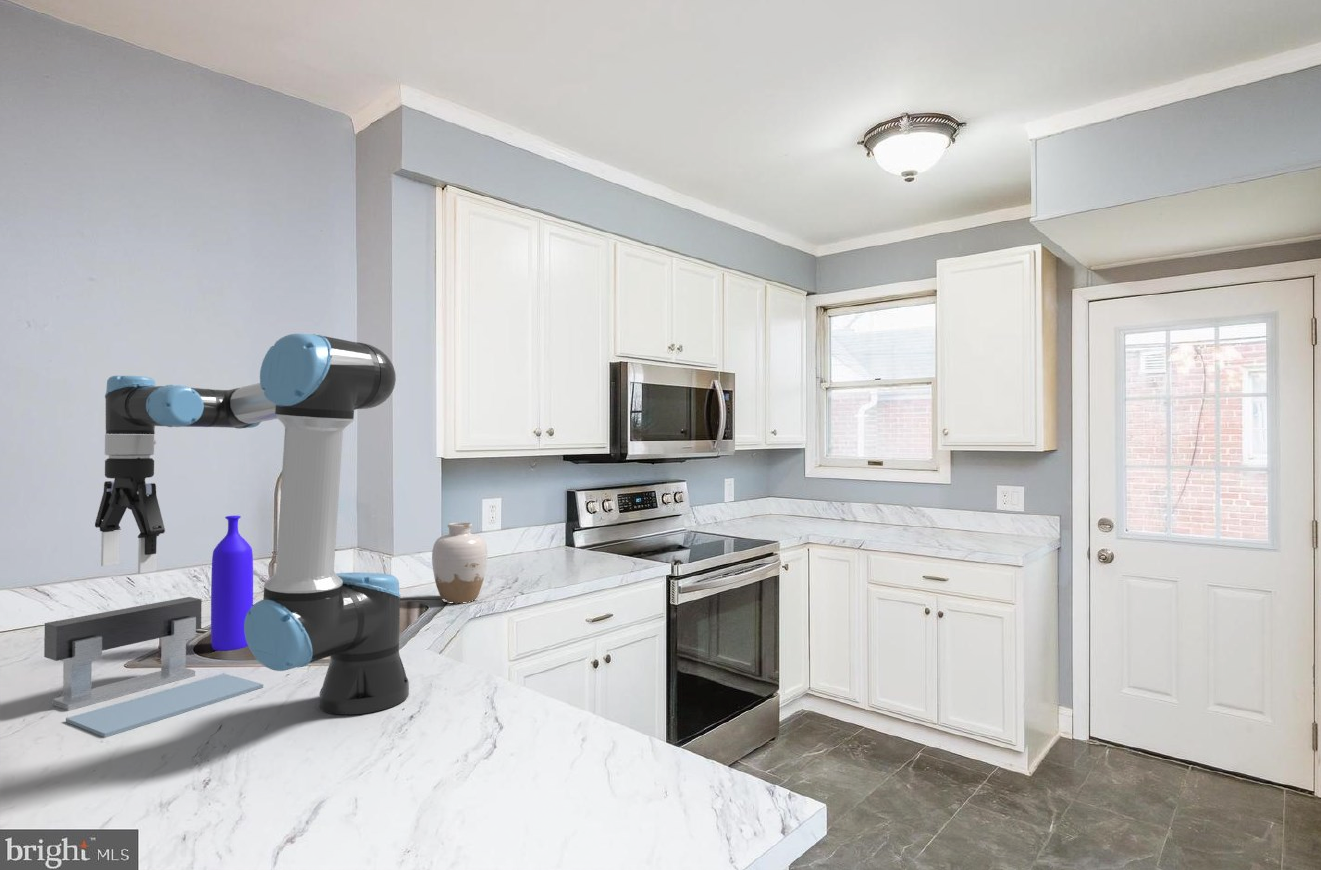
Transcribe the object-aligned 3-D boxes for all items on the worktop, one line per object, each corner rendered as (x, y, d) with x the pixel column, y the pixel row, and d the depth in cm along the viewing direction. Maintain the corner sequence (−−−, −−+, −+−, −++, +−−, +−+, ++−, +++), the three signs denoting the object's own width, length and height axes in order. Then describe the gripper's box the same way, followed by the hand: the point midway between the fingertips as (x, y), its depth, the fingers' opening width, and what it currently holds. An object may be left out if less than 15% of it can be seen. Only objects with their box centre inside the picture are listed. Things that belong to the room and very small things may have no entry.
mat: (263, 687, 135) (263, 684, 135) (104, 737, 112) (104, 733, 112) (223, 676, 141) (223, 673, 141) (65, 721, 118) (65, 718, 118)
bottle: (233, 652, 157) (234, 518, 157) (201, 650, 158) (202, 517, 159) (261, 642, 165) (262, 514, 165) (230, 640, 166) (232, 513, 167)
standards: (197, 676, 141) (198, 616, 141) (71, 711, 122) (71, 642, 122) (175, 670, 144) (176, 611, 145) (49, 703, 126) (50, 636, 126)
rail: (188, 625, 145) (189, 596, 145) (201, 628, 143) (201, 599, 143) (44, 656, 124) (44, 623, 124) (56, 660, 122) (56, 626, 122)
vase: (457, 609, 198) (458, 528, 198) (420, 602, 206) (420, 524, 206) (498, 598, 211) (498, 522, 211) (461, 592, 220) (461, 519, 220)
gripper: (187, 458, 131) (185, 571, 131) (119, 455, 143) (117, 559, 143) (142, 459, 125) (140, 578, 124) (74, 456, 136) (72, 565, 136)
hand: (128, 568), depth 134 cm, fingers open, 13 cm apart
